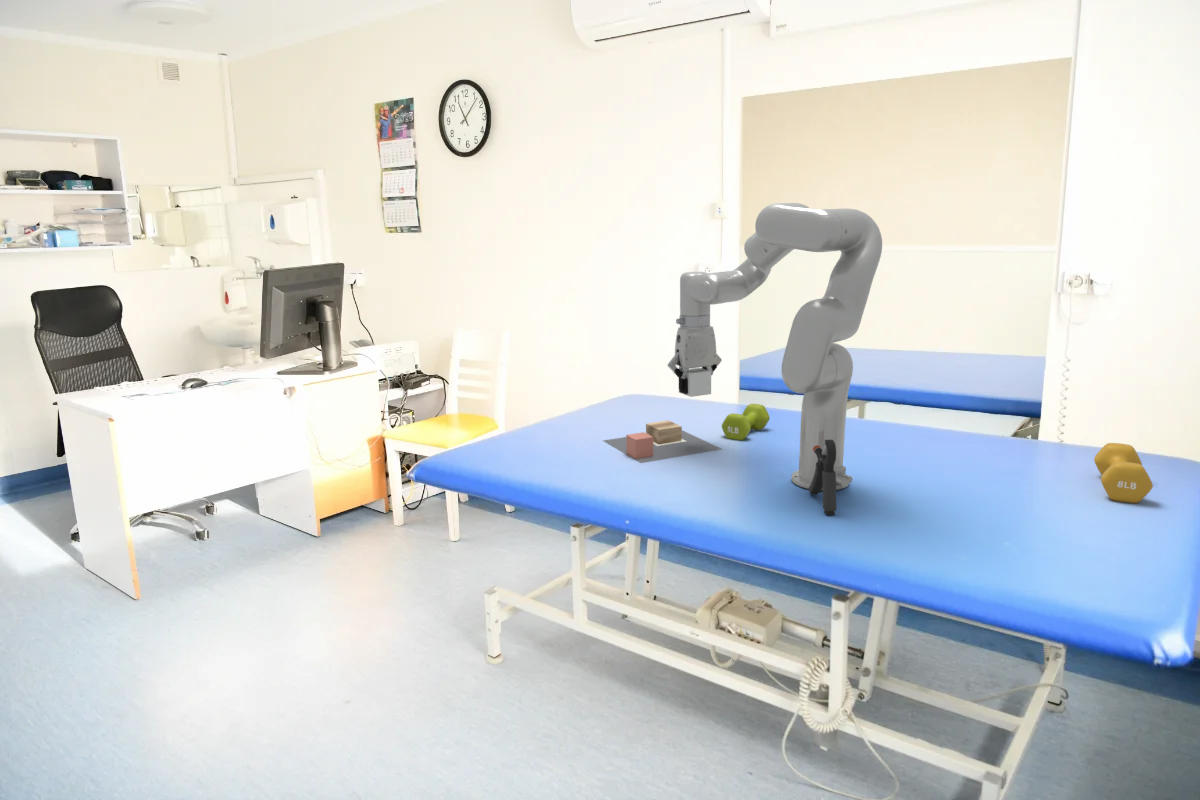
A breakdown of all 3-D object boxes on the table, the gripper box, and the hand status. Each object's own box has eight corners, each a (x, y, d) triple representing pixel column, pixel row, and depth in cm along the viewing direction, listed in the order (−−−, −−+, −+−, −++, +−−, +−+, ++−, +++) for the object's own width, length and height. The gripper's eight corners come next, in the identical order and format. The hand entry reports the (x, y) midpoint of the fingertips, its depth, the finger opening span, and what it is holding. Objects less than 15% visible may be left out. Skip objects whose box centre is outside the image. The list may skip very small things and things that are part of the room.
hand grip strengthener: (817, 494, 168) (820, 427, 165) (836, 516, 156) (840, 444, 153) (807, 494, 168) (810, 427, 165) (825, 516, 156) (829, 445, 153)
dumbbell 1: (745, 444, 205) (746, 418, 204) (718, 439, 210) (719, 413, 208) (771, 429, 218) (772, 404, 216) (745, 425, 223) (746, 401, 221)
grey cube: (711, 394, 198) (711, 371, 197) (690, 396, 195) (690, 373, 194) (698, 389, 203) (698, 367, 202) (678, 392, 201) (678, 369, 199)
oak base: (681, 440, 207) (681, 426, 206) (658, 444, 205) (658, 429, 204) (668, 434, 214) (668, 420, 213) (646, 437, 211) (645, 423, 210)
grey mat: (723, 450, 200) (723, 449, 199) (640, 464, 190) (640, 463, 190) (679, 430, 219) (679, 428, 219) (602, 442, 209) (602, 440, 209)
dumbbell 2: (1091, 473, 178) (1095, 439, 176) (1138, 479, 174) (1143, 444, 172) (1098, 501, 162) (1103, 463, 160) (1150, 507, 158) (1156, 469, 156)
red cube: (653, 456, 195) (653, 437, 194) (635, 459, 193) (635, 439, 192) (643, 450, 199) (643, 432, 198) (626, 453, 197) (626, 434, 196)
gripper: (672, 326, 188) (673, 398, 192) (732, 320, 195) (731, 390, 199) (657, 322, 195) (658, 392, 199) (715, 317, 202) (715, 385, 206)
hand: (694, 390), depth 199 cm, fingers closed on grey cube, 6 cm apart
